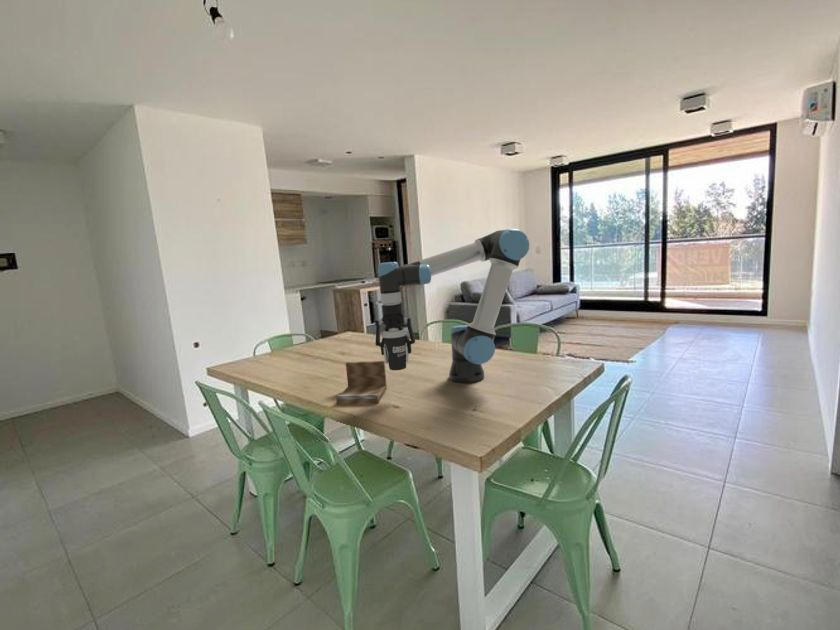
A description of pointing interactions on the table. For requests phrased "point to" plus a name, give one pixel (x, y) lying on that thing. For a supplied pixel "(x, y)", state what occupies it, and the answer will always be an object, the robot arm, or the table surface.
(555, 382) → the table surface
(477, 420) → the table surface
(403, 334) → the coffee cup
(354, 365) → the shelf
